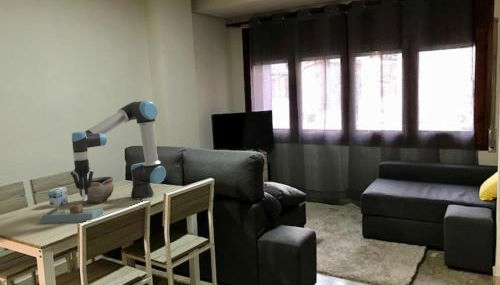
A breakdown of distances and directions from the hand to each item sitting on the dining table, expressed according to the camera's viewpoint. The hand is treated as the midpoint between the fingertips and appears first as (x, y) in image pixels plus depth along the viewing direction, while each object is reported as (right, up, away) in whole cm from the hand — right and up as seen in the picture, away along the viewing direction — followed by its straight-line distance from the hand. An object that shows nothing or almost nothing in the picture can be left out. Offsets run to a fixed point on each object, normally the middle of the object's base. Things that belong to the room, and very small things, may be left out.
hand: (85, 200), depth 238 cm
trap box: (-8, -11, +5) cm, 15 cm away
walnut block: (-6, -8, +3) cm, 11 cm away
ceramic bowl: (-8, -7, +42) cm, 43 cm away
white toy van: (-32, -9, +39) cm, 51 cm away
